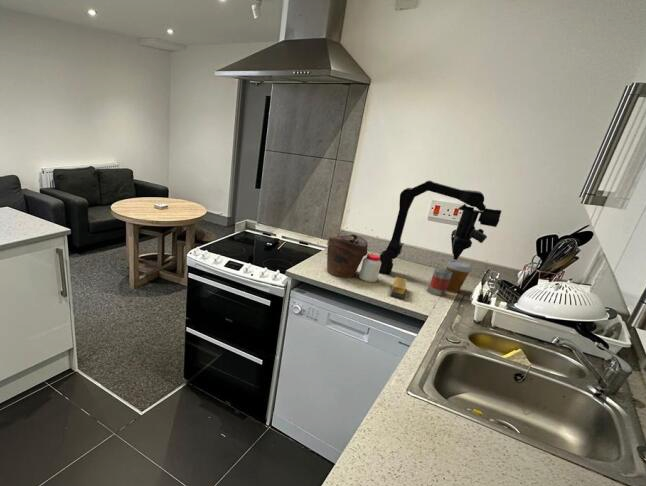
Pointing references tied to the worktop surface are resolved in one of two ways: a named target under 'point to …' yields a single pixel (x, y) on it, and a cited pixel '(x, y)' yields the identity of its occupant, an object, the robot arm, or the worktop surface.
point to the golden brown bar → (398, 287)
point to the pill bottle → (370, 268)
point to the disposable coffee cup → (457, 274)
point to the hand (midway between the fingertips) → (454, 256)
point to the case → (345, 254)
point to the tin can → (439, 281)
